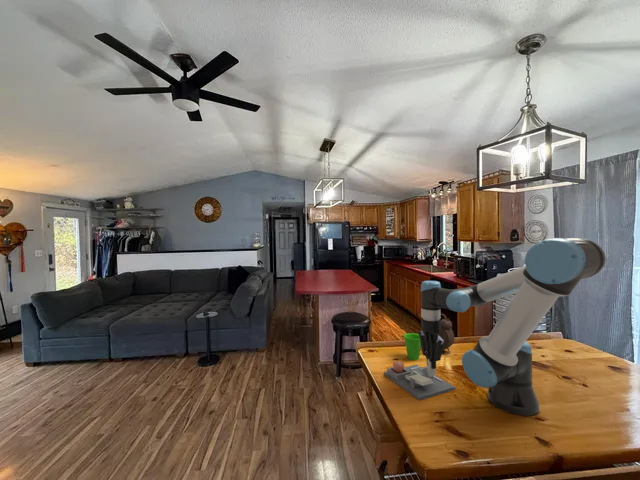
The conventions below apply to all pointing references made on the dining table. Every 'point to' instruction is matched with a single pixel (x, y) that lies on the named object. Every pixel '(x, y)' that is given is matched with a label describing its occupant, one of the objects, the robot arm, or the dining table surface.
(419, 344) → the cup
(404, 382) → the panel
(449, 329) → the alarm clock
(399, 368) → the round button
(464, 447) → the dining table surface
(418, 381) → the paddle
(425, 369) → the slider knob
